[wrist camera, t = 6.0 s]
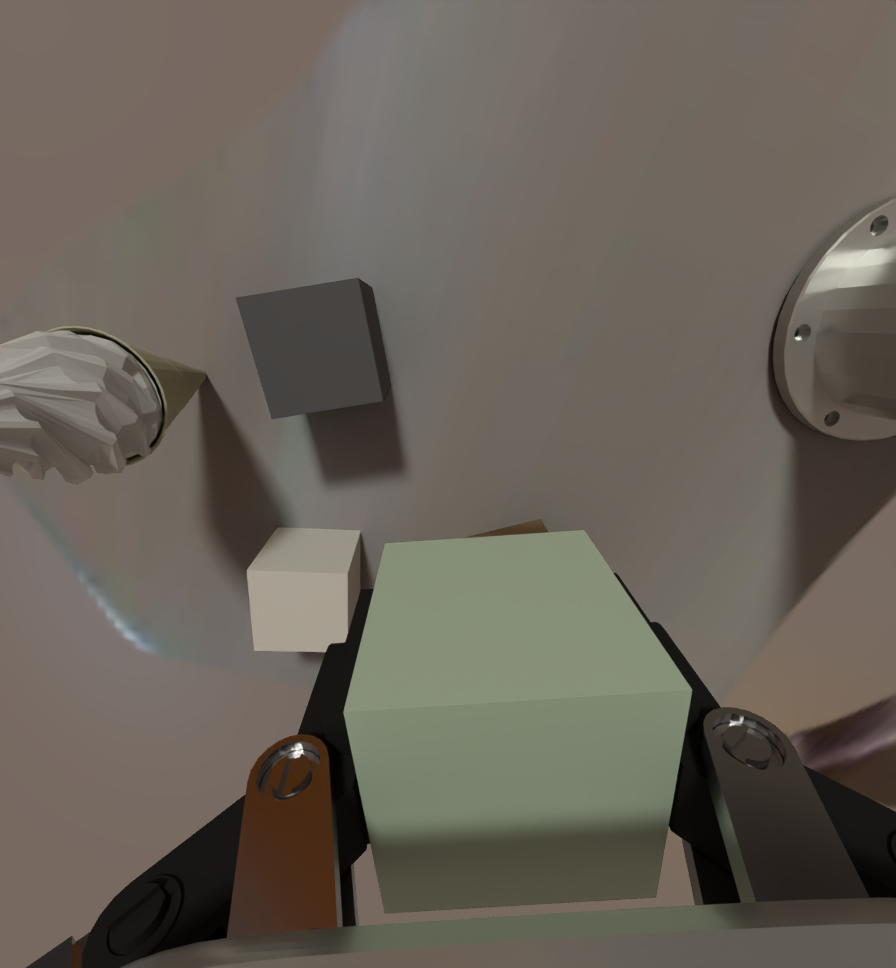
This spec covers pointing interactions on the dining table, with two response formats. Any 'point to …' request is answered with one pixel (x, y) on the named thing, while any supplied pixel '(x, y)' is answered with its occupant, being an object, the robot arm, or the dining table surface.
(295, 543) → the offwhite block
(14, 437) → the ice cream cone
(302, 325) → the black block
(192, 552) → the dining table surface
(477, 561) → the sage block
